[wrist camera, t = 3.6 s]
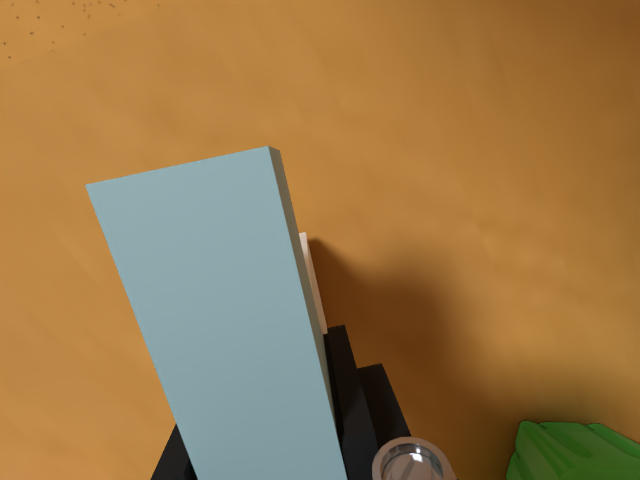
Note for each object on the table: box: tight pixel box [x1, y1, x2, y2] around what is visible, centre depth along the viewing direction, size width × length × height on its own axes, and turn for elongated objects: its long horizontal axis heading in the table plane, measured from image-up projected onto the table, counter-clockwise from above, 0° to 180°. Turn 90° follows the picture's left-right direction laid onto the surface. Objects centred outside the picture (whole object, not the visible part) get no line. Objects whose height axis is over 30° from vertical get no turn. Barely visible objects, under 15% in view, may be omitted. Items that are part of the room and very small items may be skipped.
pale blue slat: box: [85, 146, 348, 480], centre depth 11 cm, size 13×2×10 cm, turn 12°
